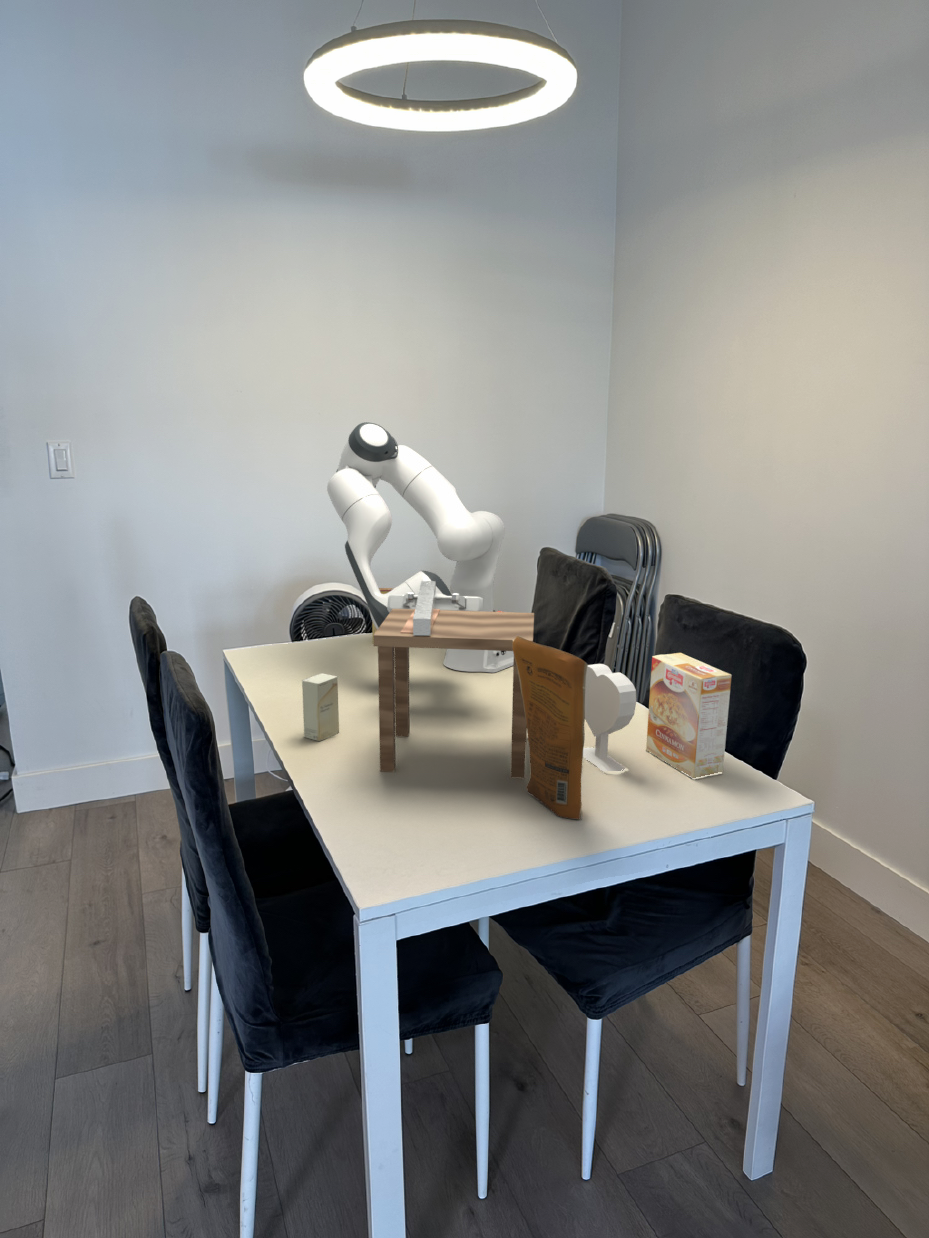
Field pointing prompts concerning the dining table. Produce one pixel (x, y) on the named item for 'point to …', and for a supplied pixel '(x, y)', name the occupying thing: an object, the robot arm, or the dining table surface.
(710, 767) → the coffeecake box
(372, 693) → the dining table surface
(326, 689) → the skincare box
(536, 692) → the pancake mix bag
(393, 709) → the wooden stool
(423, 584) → the brushed metal block
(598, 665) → the heart sculpture
